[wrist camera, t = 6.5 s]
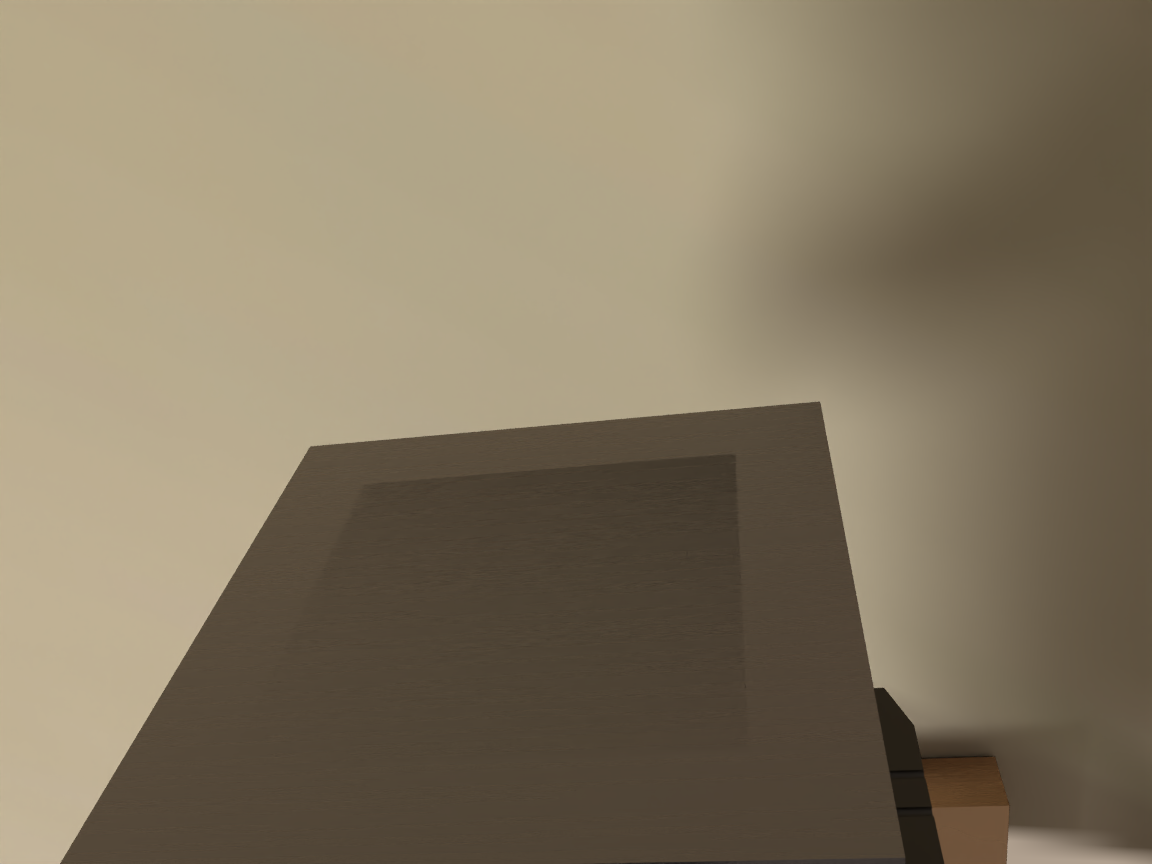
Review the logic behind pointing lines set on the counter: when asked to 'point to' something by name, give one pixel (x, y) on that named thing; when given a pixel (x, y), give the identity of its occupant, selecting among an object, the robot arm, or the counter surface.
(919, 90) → the counter surface
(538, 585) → the shaft
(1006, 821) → the block
